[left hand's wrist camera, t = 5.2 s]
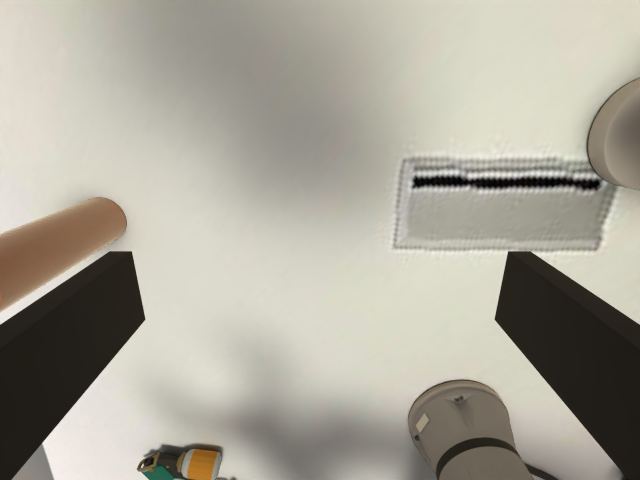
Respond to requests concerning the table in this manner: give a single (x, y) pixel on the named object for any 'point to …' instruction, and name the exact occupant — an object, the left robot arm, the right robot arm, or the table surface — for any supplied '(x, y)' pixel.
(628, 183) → the bust sculpture
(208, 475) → the spray gun
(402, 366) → the table surface
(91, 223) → the bottle
